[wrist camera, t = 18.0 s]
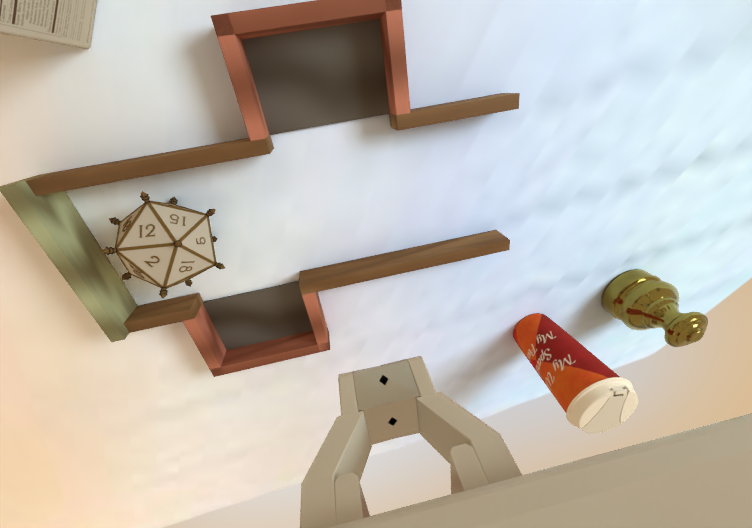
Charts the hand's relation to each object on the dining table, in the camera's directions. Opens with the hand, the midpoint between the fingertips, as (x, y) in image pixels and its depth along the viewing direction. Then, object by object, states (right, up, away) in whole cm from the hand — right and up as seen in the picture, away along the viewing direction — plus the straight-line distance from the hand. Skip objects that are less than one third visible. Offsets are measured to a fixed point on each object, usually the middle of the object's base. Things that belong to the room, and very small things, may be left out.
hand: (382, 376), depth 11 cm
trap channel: (-7, +9, +21) cm, 24 cm away
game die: (-19, +8, +20) cm, 29 cm away
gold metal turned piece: (+35, 0, +35) cm, 49 cm away
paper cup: (+22, -5, +35) cm, 42 cm away
